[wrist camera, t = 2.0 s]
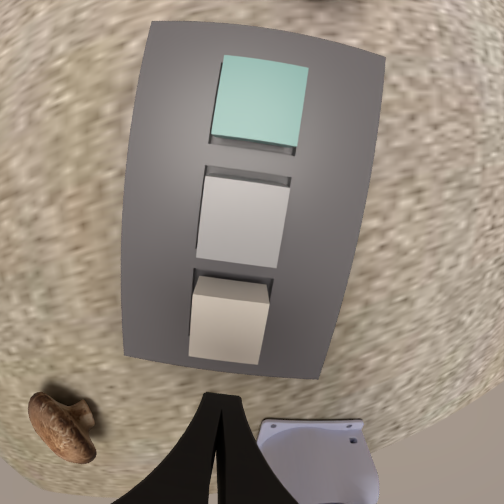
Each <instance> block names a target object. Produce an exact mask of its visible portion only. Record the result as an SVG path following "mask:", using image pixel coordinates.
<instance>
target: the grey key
mask: <svg viewBox="0 0 504 504" xmlns="http://www.w3.org/2000/svg"><path fill="white" fill-rule="evenodd" d="M289 193H290V188H289V187H288V186H287V185H285V184H284V183H278V182H271V181H265V180H258V179H251V178H244V177H237V176H229V175H222V174H214V173H210V174H208V175H207V176H205V182H204V190H203V198H202V207H201V215H200V224H199V234H198V243H197V253H196V258H204V259H211V260H218V261H226V262H233V263H241V264H248V265H256V266H264V267H271V268H277V262H278V256H279V251H280V245H281V240H282V234H283V228H284V222H285V217H286V211H287V205H288V199H289Z"/></svg>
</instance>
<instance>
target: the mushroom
mask: <svg viewBox="0 0 504 504" xmlns="http://www.w3.org/2000/svg"><path fill="white" fill-rule="evenodd" d="M28 414H29V418H30V421H31V423H32V425H33V427H34V429H35V431H36V432H37V434H38V435H39V436H40V437H41V439H42V440H43V441H44V442H45V443H46V444H47V445H48V447H49V448H50V449H51V450H52V451H53V452H54V453H55V454H56V455H58V456H59V457H61V458H63V459H64V460H66V461H68V462H73V463H78V464H86V463H89V462H91V461H93V460H94V458H95V457H96V449H95V447H94V444H93V443H92V441H91V439H90V436H89V429H91V428H92V427H94V425H95V421H94V418H93V415H92V412H91V410H90V408H89V406H88V405H87V403H86V402H85V400H81V401H79V402H78V403H76V404H74V405H72V406H66V405H63V404H60V403H58V402H56V401H55V400H54V399H52V398H51V397H50V396H48V395H47V394H45V393H43V392H37V393H35V394H34V395H33V396H32V397H31V398H30V401H29V405H28Z"/></svg>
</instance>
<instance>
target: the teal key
mask: <svg viewBox="0 0 504 504" xmlns="http://www.w3.org/2000/svg"><path fill="white" fill-rule="evenodd" d="M308 69H309V68H307V67H302V66H297V65H292V64H287V63H281V62H275V61H269V60H262V59H255V58H248V57H240V56H231V55H224V60H223V65H222V71H221V76H220V82H219V88H218V94H217V100H216V106H215V112H214V119H213V125H212V132H211V134H212V135H213V136H215V137H218V138H226V139H234V140H241V141H249V142H256V143H262V144H269V145H275V146H281V147H287V148H292V147H297V144H298V137H299V131H300V124H301V118H302V111H303V104H304V97H305V90H306V83H307V76H308Z"/></svg>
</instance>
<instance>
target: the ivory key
mask: <svg viewBox="0 0 504 504" xmlns="http://www.w3.org/2000/svg"><path fill="white" fill-rule="evenodd" d="M269 305H270V303H269V297H268V291H267V285H266V284H258V283H250V282H242V281H234V280H227V279H219V278H212V277H205V276H199V278H198V281H197V284H196V287H195V289H194V292H193V298H192V311H191V325H190V340H189V356H191V357H198V358H205V359H212V360H220V361H228V362H237V363H246V364H256V365H258V361H259V356H260V351H261V346H262V341H263V336H264V331H265V326H266V321H267V316H268V310H269Z"/></svg>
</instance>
